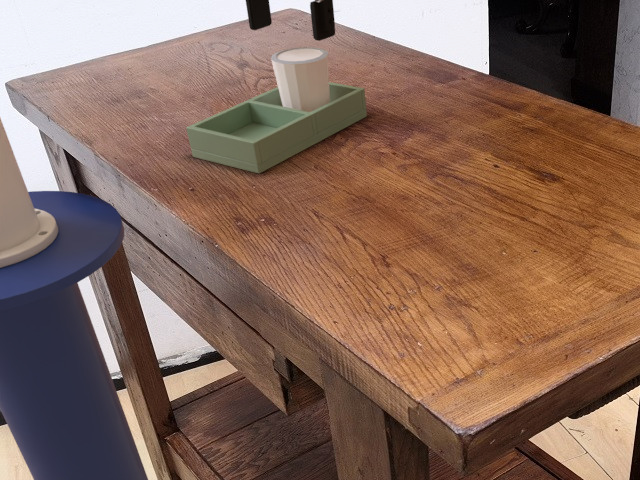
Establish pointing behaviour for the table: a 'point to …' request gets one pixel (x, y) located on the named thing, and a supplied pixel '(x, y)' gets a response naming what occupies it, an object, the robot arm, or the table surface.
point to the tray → (272, 128)
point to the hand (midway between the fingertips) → (292, 32)
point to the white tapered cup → (302, 77)
